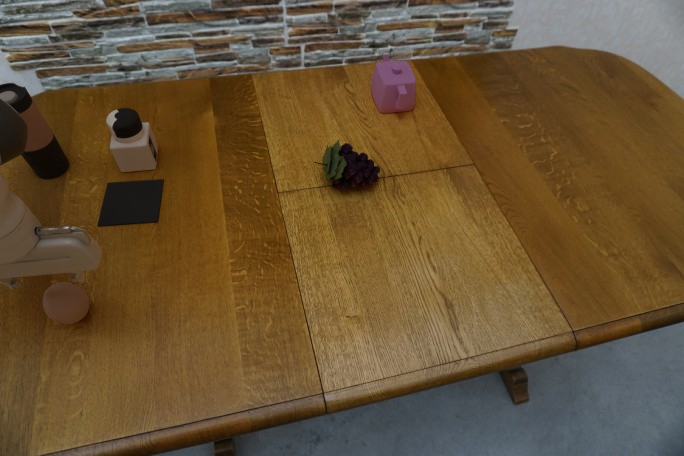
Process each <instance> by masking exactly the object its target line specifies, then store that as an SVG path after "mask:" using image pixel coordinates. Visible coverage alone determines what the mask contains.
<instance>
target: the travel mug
mask: <svg viewBox="0 0 684 456" xmlns="http://www.w3.org/2000/svg"><path fill="white" fill-rule="evenodd" d="M0 99H2V100H3V101H5V102H6V103H7V104H9V105H10V106H11V107H12V108H14V109H15V110H16V111H17V112H18V114H19V115H20V116H21V117H22V119H23V120H24V121H25V123H26V124H27V127H28V138H27V144H26V148H25V151H24V153H23V154H21V155H20V156H21V157H22V158H23V159H24V161H25V163H26V164H27V165H28V166H29V167H30V168H31V170H32V171H33V172H34V174H35V175H36V176H37V177H38V178H40V179H43V180H51V179H55V178H59V177H61V176H63V175H64V174H65V173H66V172H67V171H68V170H69V168H70V161H69V159H68V156H67V155H66V154H65V152H64V150H63V148H62V146H61V145H60V143H59V141H58V139H57V137H56V135H55V133H54V132H53V130H52V129H51V127H50V125H49V123H48V121H46V119H45V117H44V115H43V113H42V112H41V111H40V109H39V108H38V106H37V104H36V103H35V101H34V99H33V98H32V96H31V94H30V93H29V90H28V89H27V88H26V86H22V85H19V84H16V83H14V82H6V83H1V84H0Z"/></svg>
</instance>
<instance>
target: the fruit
mask: <svg viewBox="0 0 684 456" xmlns="http://www.w3.org/2000/svg"><path fill="white" fill-rule="evenodd" d="M353 149H354V148H353V146H352V144H350V143H349V142H344V143H343V144H342V145H341V142H340V139H338V140H337V141H335V143H333V144H331V145H328V144H327V145H326V148H325V149H324V153H323V155H322V161H321V162H322V163H321V162H317V161H314V162H313V163H314V164H318V165H321V166H322V168H321V169H322V171H323V172H324V175H325V180H327V181H328V184H329V186H330V187H333V185H334V187H335V188H336V189H337V190H341V191H342V192H345V191H348V190H349V189H350V187H355V188H356V187H357V188H358V187H359V186H362V187H366V186H368V187H369V186H371V185H372V184H373V185H374V184H376V183H378V182H379V176H378V174H380V173H381V167H380V166H378V165H375V161H374V160H373V159H372V158H369V156H368V153H365V152H360V153H358V151H354V150H353ZM332 184H333V185H332Z"/></svg>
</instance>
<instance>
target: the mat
mask: <svg viewBox="0 0 684 456" xmlns="http://www.w3.org/2000/svg"><path fill="white" fill-rule="evenodd" d="M164 181H165V179H164V178H161V179H160V178H158V179H143V180H127V181H126V180H125V181H112V182H107V183H106V188H105V192H104V195H103V200H102V204H101V208H100V212H99V217H98V221H97V225H96V226H97V228H98V227H110V226H111V227H113V226H125V225H140V224H154V223H155V224H156V223H159V217H160V212H161V211H160V210H161V203H162V196H163V188H164V183H165V182H164Z"/></svg>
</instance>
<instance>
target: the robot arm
mask: <svg viewBox="0 0 684 456" xmlns="http://www.w3.org/2000/svg"><path fill="white" fill-rule="evenodd" d="M27 138H28V127H27V124H26V123H25V121H24V120H23V119H22V117H21V116H20V115H19V114H18V112H17V111H16V110H15V109H14V108H12V107H11V106H10V105H9V104H7V103H6V102H5V101H3V100H2V99H0V166H2V165H5V164H6V163H8V162H10V161H12V160H14V159H16V158H17V157H19V156H22V155H21V154H23V153H24V151H25V148H26V144H27ZM102 259H103V248H102V247H101V246H100V244H99V243H98V242H97V241H96V240H95V239H94V238H93V237H92V236H91V235H90V234H89V233H88V232H87V231H86V230H85V229H84V228H81V227H79V226H74V225H70V224H64V225H58V226H54V225H53V226H42V224H41V222H40V221H39V219H38V218H37V217H36V216H35V214H34V213H33V212H32V211H31V209H30V208H29V207H28V206H27V205H26V203H25V202H24V200H22V199H21V197H20V196H18V195H17V194H16V193H14V192H12V191H11V190H10V188H9V185H8V181H7V180H6V179H5V177H4V175H2V173H0V285H3V286H6V287H7V288H8V289H10V290H11V291H12V290H20V289H22V288H23V287H24V286H23V285H24V284H25V279H24V278H25V277H36V276H46V275H47V276H48V275H58V274H69V273H70V276H69V280H70V282H72V284H75V285H77V284H84V283H85V281H86V279H85V278H86V273H85V272H92V271H93V272H94V271H96V270H97V269H98V268H99V267H100V266H101V262H102Z"/></svg>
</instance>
